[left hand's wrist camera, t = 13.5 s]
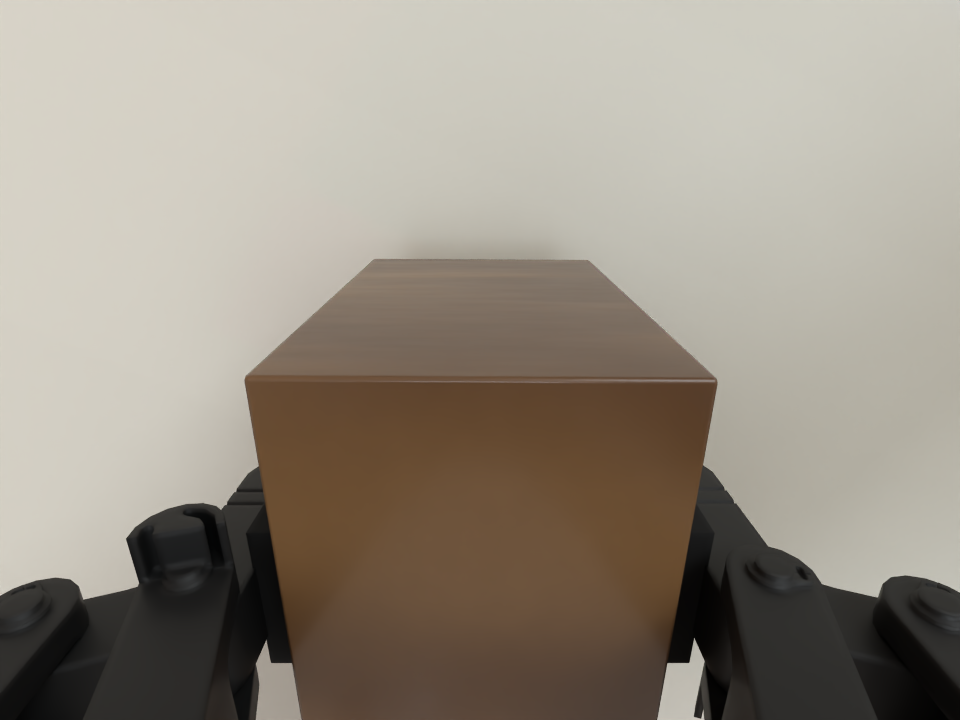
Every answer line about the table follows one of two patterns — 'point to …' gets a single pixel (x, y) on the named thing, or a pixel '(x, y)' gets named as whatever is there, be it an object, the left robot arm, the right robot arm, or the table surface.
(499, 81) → the table surface
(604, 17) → the table surface
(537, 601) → the beam
